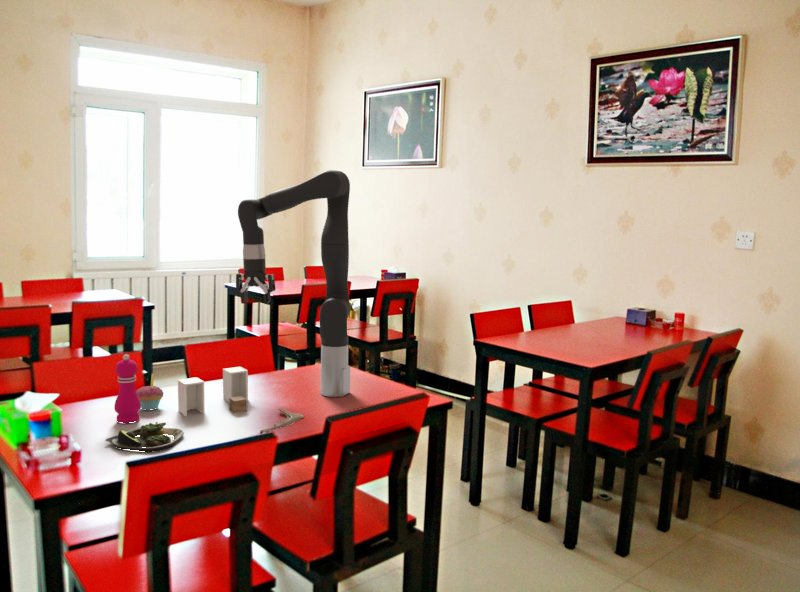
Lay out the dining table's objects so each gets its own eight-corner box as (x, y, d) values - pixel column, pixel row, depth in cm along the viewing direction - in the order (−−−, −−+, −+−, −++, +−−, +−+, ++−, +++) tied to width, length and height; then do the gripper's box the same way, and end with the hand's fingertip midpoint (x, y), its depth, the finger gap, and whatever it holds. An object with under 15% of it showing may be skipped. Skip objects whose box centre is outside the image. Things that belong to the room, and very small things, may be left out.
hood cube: (223, 398, 228) (222, 368, 227) (240, 395, 232) (240, 366, 230) (230, 402, 223) (230, 372, 222) (247, 400, 227) (247, 370, 225)
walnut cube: (229, 410, 216) (229, 397, 216) (241, 408, 219) (241, 395, 218) (234, 413, 213) (234, 401, 212) (246, 411, 215) (246, 399, 215)
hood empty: (178, 411, 214) (177, 379, 212) (197, 408, 217) (196, 377, 216) (185, 416, 209) (184, 384, 207) (204, 413, 212) (204, 381, 211)
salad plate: (138, 426, 200) (138, 411, 200) (196, 431, 197) (196, 415, 196) (98, 450, 181) (98, 433, 181) (161, 456, 178) (161, 439, 178)
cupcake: (169, 407, 217) (168, 370, 216) (149, 414, 210) (148, 376, 208) (149, 403, 221) (148, 366, 219) (128, 410, 213) (127, 372, 212)
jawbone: (306, 416, 215) (307, 410, 215) (290, 440, 195) (290, 433, 195) (278, 412, 216) (278, 406, 215) (259, 435, 196) (259, 428, 195)
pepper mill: (146, 418, 206) (144, 353, 203) (129, 426, 199) (127, 358, 196) (126, 415, 208) (124, 350, 205) (109, 422, 201) (107, 355, 198)
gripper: (230, 257, 239) (232, 304, 241) (267, 258, 234) (269, 305, 236) (241, 256, 246) (243, 301, 248) (277, 256, 241) (279, 302, 243)
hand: (256, 303), depth 242 cm, fingers open, 8 cm apart
